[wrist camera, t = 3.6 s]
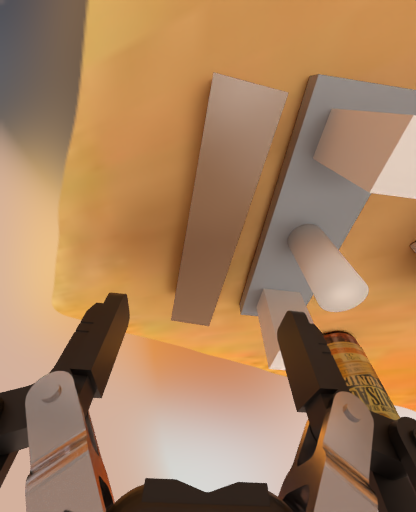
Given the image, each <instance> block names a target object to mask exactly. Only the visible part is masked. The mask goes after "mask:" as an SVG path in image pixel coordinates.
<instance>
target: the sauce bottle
mask: <svg viewBox="0 0 416 512" xmlns="http://www.w3.org/2000/svg"><path fill="white" fill-rule="evenodd" d="M323 336H324V338H325V340H326V342H327V346H328V347H329V349H330V351H331V355H333V357H334V359H335V361H336V364H337V366H338V368H339V370H340V372H341V374H342V376H343V378H344V381H345V383H346V385H347V387H348V389H349V391H350V392H351V394H353V395H355V396H357V397H358V398H359V399H360V400H361V401H362V402H363V403H364V404H365V405H366V406H367V408H368V409H369V410H371V411H373V412H375V413H378V414H380V415H383V416H385V417H387V418H390V419H392V420H394V421H396V420H398V419H399V418H400V417H399V415H398V413H397V411H396V409H395V407H394V405H393V404H392V402H391V400H390V398H389V396H388V394H387V393H386V391H385V389H384V387H383V385H382V383H381V382H380V380H379V378H378V376H377V374H376V373H375V371H374V369H373V367H372V365H371V363H370V362H369V360H368V358H367V356H366V355H365V353H364V351H363V349H362V347H360V345H359V344H358V343H357V341H356V339H355V338H354V337H353V336H351V335H349V334H345V333H340V332H338V333H333V334H327V335H323ZM407 478H408V481H409V483H410V485H411V487H412V489H413V491H414V493H415V495H416V492H415V490H414V488H413V485H412V483H411V481H410V479H409V477H407Z"/></svg>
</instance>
